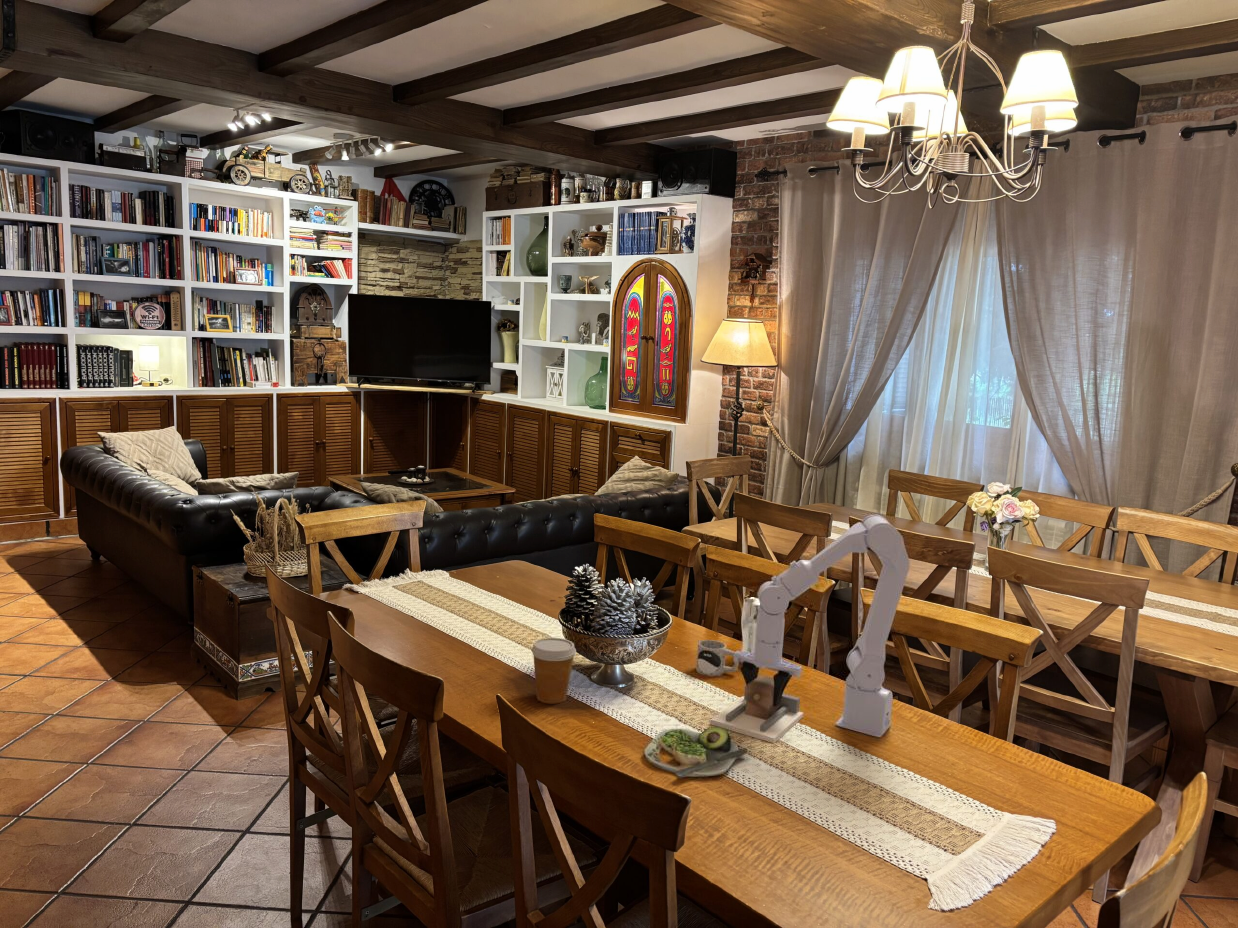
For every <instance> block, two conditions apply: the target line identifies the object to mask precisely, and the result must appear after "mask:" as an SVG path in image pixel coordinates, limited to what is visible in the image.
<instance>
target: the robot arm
mask: <svg viewBox="0 0 1238 928" xmlns="http://www.w3.org/2000/svg"><path fill="white" fill-rule="evenodd" d="M868 548H870V550H872V551H873V552H874V553H875V554H876V555H877V557H878V559H879V560H880V561H881V563H882V567H881V571H880V574H879V576H878V577H879V578H878V580H877V583H876V587H875V590H874V594H873V597H872V600H871V603H870V607H869V610H868V614H867V616H866V620H865V623H864V627H863V629H862V632H861V635H860V636H859V637H858V638H857V640H856V642H855V645H854V647H853V648H852V649H851V650H850V651H849V652H848V654H847V656H846V666H847V668H848V669H849V670H850V673H849V674H848V676H847V677H846V679H845V689H844V698H843V709H842V716H840V718H839V719H838V720H837V721H836V722H835V726H837V727H839V728H844V729H847V730H851V731H853V732H854V731H855V732H859V733H862V734H864V735H865V734H866V735H869V736H873V737H876V738H882V736H883V735H884V734H885V733H886V731H887V730H888V729H889V728H890V727H891V719H892V718H891V716H892V708H893V707H892V706H893V692H892V691H891V690H889V689H887V688H884V686H882V684H883V683H884V682H885V676H886V673H885V668H884V666H885V662H886V646H887V645H886V644H887V641H888V638H889V634H890V632H891V628H892V625H893V622H894V619H895V615H896V612H897V609H898V605H899V602H900V600H901V595H902V593H903V590H904V586H905V583H906V579H907V576H908V573H909V571H910V567H911V562H910V558H909V556H908V552H907V549H906V547H905V542H904V537H903V536H902V534H901V533H900V532H899V530H898V529H897V528H896V527H895V526H894V525H892V524H891V523H890V522H889V521H888V520H887V519H886V517H884V516H882V515H879V514H870V515H868V516H866V517H864V518H863V519H862V521H859V522H856V523H855V524H853V525H852V526H851V527H849V528H848V530H846V531H845V532H843V533H842V534H841V535H840V536H838V537H837V538H836V539H835V540H834V541H832V542H831V543H830V544H829V545H827V546H826V547H824V548H823V550H821V551H820V552H818V553H817V554H816V555H815V556H813V557H812V558H811V559H810V560H808V559H807V560H806V559H799V560H798V561H797V562H796V560H793V561H792V562H790V563H789V568H787V569H786V570H784V571H782V573H780V574H778V575H777V576H776V575H773V576H772V577H771V581H770V580H769V581H765V582H764V583H762V584H761V585H760V586H759V589H758V591H757V592H756V594H757V595H756V596H757V598H758V599H759V601H760V604H759V609H758V616H757V625H756V638H755V650H754V653H749V652H742V650H737V651H734V652H735V653H734V657H733V662H734V663H735V662H740V663H742V665H741V666H740V667H739V668H740V669H739V670H740V673H741V674H742V676H743V679H744V682H745V686H747V685H748V684H749V683H750V682H752V681H753V680H754V679H756V678H757V677H759V673H760V668H761V669H767V670H770V671H775V672H776V673H775V674H774V675H773V677H772V678H773V679H774V698H773V706H778V705H779V704H780V701H781V697H782V694H784V693H785V692H784V691H785V689H786V687H787V686H788V683H789V682H790V680H791V679H792V677H793V678H796V679H798V678H800V677H801V676H802V671H803V670H802V669H803V666H802V665H798V664H795V663H793V662H790V661H788V660H785V659H783V658H782V657H783V646H784V633H785V620H786V619H785V611H786V610H787V609H788V607H789V603H790V602H791V601H794V600H795V599H796V598H798V597H799V596H800V595H802V594H803V593H804V592H806V591H807V590H809V589H810V588H812V587H813V586H814V585H816V584H817V583H818V582H819V575H820V574H821V573H822V572H825V571H826V570H827V569H829V568H830V567H831V566H833V565H835V564H836V563H838V562H839V561H841V560H842V559H844V558H846V557H848V556H849V555H850V554H851V553H861V554H868V553H869V551H868Z"/></svg>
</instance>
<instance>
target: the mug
mask: <svg viewBox="0 0 1238 928" xmlns="http://www.w3.org/2000/svg"><path fill="white" fill-rule="evenodd" d="M735 652H736V651H733V650H731V649H727V644H726V643H724V642H723V641H719V640H715V639H714V640H713V639H703V640H700V641H698V643H697V652H696V664H695V665H696V666H695V667H696V670H695V671H696V673H698V674H699V675H702V676H707V677H720V676H723V675H724V674H725V673H727V672H729V673H730V672H731V673H732V672H734V673H735V672H737V671H738V668H739V662H734V663H733V666H727V665H725V663H726V655H727V656H732V657H733V658H734V653H735Z"/></svg>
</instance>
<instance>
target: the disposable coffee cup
mask: <svg viewBox="0 0 1238 928" xmlns="http://www.w3.org/2000/svg"><path fill="white" fill-rule="evenodd" d="M531 653H532V656H533V667H534V680H535V690H536V691H535V692H536V699H537V701H539V702H542V703H544V704H550V705H551V704H560V703H563V702H564V701H566V699H567V694H568V688H569V683H570V679H571V673H572V667H573V661H574V657H575V654H576V653H577V649H576V648H575V643H574V642H573V641H571V640H568V639H565V638H561V637H559V638H558V637H544V638H543V637H542V638H540V639H537V640H535V641H534V643H533V645H532V647H531Z"/></svg>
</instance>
